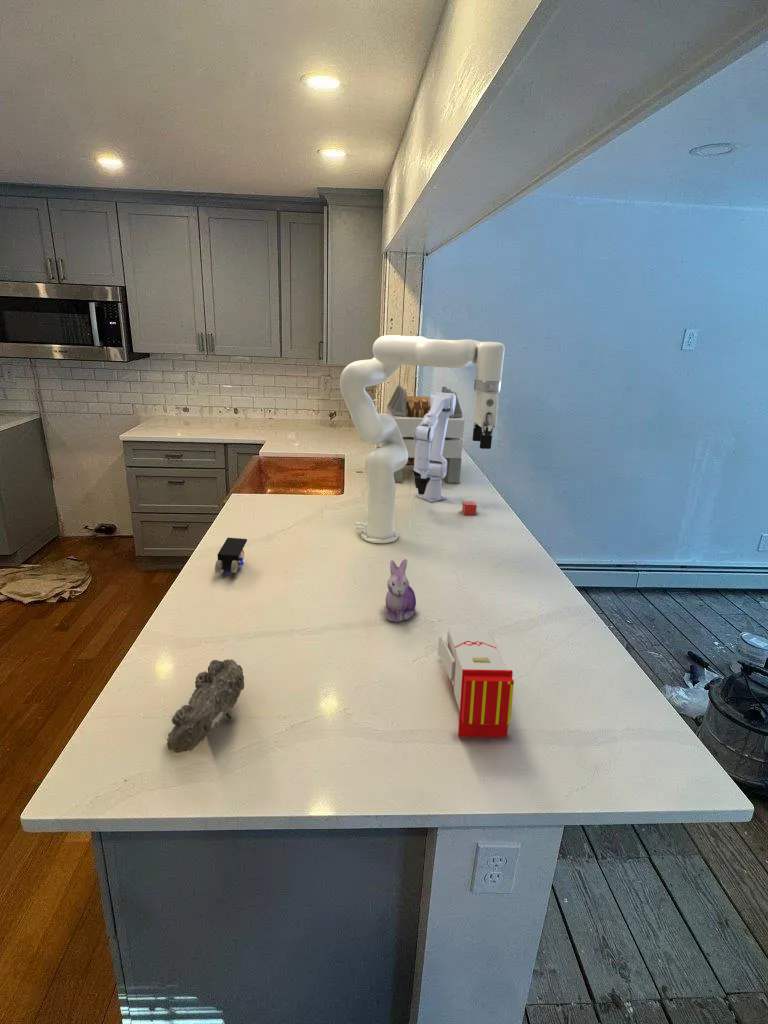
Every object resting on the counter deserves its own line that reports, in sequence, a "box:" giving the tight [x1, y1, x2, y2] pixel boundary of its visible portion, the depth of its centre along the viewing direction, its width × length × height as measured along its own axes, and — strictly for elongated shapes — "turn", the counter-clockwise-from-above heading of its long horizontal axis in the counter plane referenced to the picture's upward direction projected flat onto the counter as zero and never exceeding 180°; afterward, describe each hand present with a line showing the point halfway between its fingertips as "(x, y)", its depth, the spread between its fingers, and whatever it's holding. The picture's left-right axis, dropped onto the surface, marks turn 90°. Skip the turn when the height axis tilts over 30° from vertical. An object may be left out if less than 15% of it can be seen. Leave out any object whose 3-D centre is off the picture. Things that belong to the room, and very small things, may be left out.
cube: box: [461, 500, 478, 516], centre depth 223 cm, size 4×5×4 cm
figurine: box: [384, 558, 417, 623], centre depth 145 cm, size 9×10×15 cm
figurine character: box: [214, 537, 248, 578], centre depth 166 cm, size 7×8×15 cm
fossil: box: [166, 658, 245, 754], centre depth 106 cm, size 22×10×15 cm
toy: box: [437, 628, 515, 738], centre depth 117 cm, size 12×13×30 cm
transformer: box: [386, 384, 465, 484], centre depth 268 cm, size 34×33×41 cm
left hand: (481, 444), depth 169 cm, fingers open, 9 cm apart
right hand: (419, 491), depth 221 cm, fingers open, 7 cm apart
